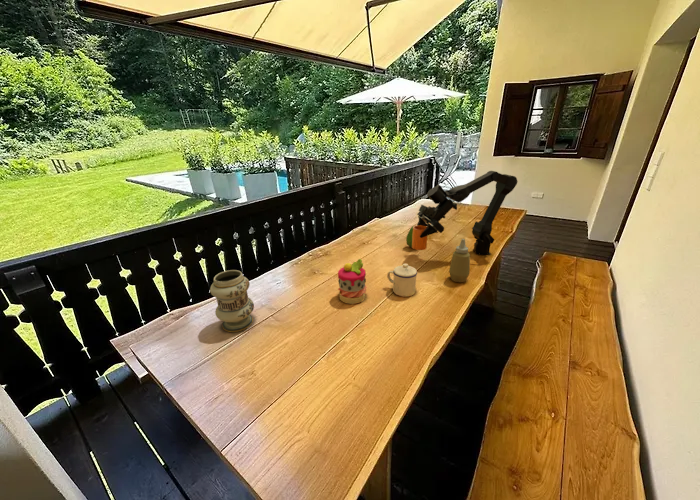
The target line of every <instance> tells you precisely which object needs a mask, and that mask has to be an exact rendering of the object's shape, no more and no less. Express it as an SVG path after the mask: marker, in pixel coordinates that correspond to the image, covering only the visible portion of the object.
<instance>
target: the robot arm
mask: <svg viewBox="0 0 700 500" xmlns="http://www.w3.org/2000/svg"><path fill="white" fill-rule="evenodd" d="M493 182H495V192H494V194H493V195H492V198H491V200H490V202H489V204H488V206H487V207H486V210H485V212H484V215H483V216H482V218H481V220H479V221H477V220H475V222H474V225H473V226H472V228H471V229H472V230H471V234H472V235H473V238H474V239H475V242H474V245H473V248H472V250H473V252H474V253H475V254H476V255H479V256H480V255H481V256H482V255H483V256H484V255H488V256H489V255H491V252H490V249H491V245H492V244H493V243H494V241H495V238H494V237H493V236H492V235H491V234H492V231H493V222H494V221H495V218H496V216H497V214H498V212H499V210H500V208H501V207H502V205H503V203H504V201H505V199H506V197H507V195H509V194H510V193H512V192H513V191H514V189H515V188H516V186H517V184H518V178H517V177H516V176H515V175H511V174H505V173H500V172H498V171H496V170H488V171H487V172H486V173H484V174H482V175H481V176H478V177H477V178H475V179H473V180H471V181H468V182H467V183H464V184H461V185H460V184H459V185H456V186H453V187H451V188H450V189H447V190H444V189H443V187H442V186H441V185H440V184H436V186H433V187H432V188H430V189H429V190H428V192H427V193H426V195H427V196H428V198H429V199H430V200H431V201H432V202H433V203H434V204H435V205H436V206H427V205H424V204H421V205H420V207H419V209H418V213H417V218H418V221H417V224H416V226H417V225H421V226H426V227H427V228H426V229H425V230H424V231H423V232H422V234H421V235H420V237H421V238H422V237H425V236H427V237H428V236H430V235H433V234H438V233H439V234H442V233H443V232H445V227H444V225H442V224H441V222H440V221H441V220H442V219H446V215H447V214H448V213H449V212H451V210H453V209H454V210H455V211H457V210H458V203H461V202H463V201H464V200H466V199H467V198H468V197H469V196H470V195H471V194H472V193H473V192H476V191H477V190H479V189H481V188H483V187H485V186H486V185H487V186H488V184H491V183H493ZM456 202H457V203H456Z"/></svg>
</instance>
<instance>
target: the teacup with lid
mask: <svg viewBox="0 0 700 500" xmlns="http://www.w3.org/2000/svg"><path fill="white" fill-rule="evenodd" d="M390 274H393V278H391V275H390ZM417 275H418V270H417V268H415V267H413V266H411V265H409V264H408V263H403V264H402V265H397V266H395V267H394V268H393V270H389V271H388V272H387V275H386V277H387V279H388V282H390V283H392V291H393V293H394V294H395V295H397V296H399V297H412V296H413V295H414V294H416V288H417V287H416V286H417Z"/></svg>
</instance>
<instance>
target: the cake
mask: <svg viewBox="0 0 700 500" xmlns="http://www.w3.org/2000/svg"><path fill="white" fill-rule="evenodd" d="M363 266H364V263H363V260H362V259H361V258H358V259H357V261H354V262H352V263H350V262H346V263H345V264H344V265H343V267H341V268H340V269H339V270H338V271H337V279H338V282H337V283H338V289H337V290H338V291H339V300H340V301H341V302H343V303H345V304H350V305H352V304H353V305H355V304H359V303H361V302H363V301H364V300H365V299H366V292H367V285H366V282H367V279H366V275H367V274H366V270H365V268H363Z"/></svg>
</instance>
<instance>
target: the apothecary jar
mask: <svg viewBox="0 0 700 500" xmlns="http://www.w3.org/2000/svg"><path fill="white" fill-rule="evenodd" d="M250 283H251V282H250V281H249V279H248V278H247V277H246V276H244V274H243V272H242V271H240V270H237V269H230V270H229V269H228V270H225V271H221V272H219V273H217V274H216V275H215V276H214V277H213V282H212V284H211V285H210V287H209V293H210V294H211V296H213V297H215V300H216V303H217V306H216V308H215V310H214V311H215V312H214V313H215V317H216V318H217V319H218V320H220V321H221V322H222V324H221V325H222V327H221V328H222V329H223V330H224V331H225V332H228V333H237V332H241V331H244V330H246V329H247V328H250V327H251V326H252V324H253V322H254V318H253V315H251V314H252V313H253V312H254V309H255V303H254V301H253V300H252V299H251V298H250V297H249V294H248V290H249V288H250Z"/></svg>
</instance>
